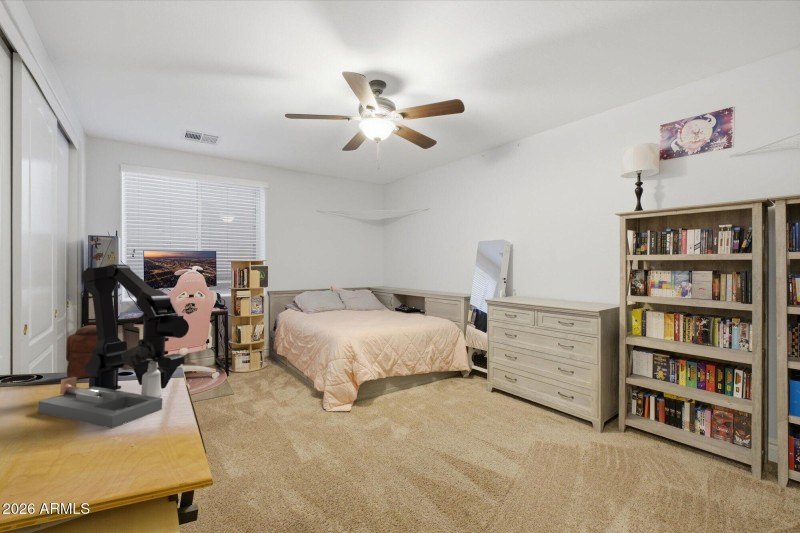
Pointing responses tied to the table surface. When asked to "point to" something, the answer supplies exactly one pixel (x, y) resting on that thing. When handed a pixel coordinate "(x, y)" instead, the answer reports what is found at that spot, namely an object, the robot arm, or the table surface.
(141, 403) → the dock block
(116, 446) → the table surface
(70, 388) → the lock pin
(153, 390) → the eye dropper bottle
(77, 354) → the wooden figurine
